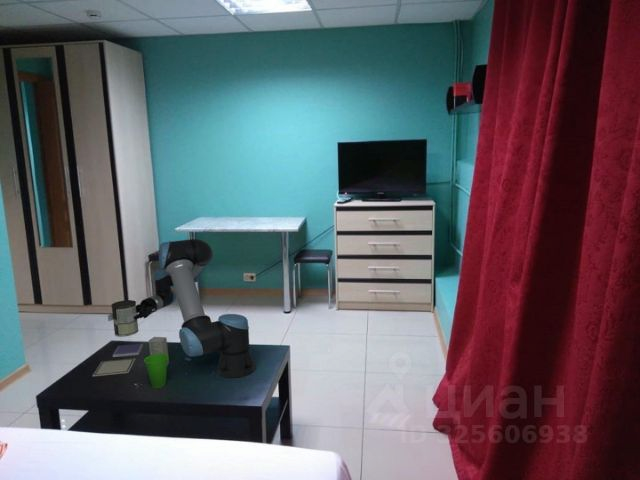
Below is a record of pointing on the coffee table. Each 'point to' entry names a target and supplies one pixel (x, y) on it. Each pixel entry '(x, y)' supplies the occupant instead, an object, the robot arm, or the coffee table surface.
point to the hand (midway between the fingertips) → (118, 319)
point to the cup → (157, 369)
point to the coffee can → (124, 318)
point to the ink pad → (128, 350)
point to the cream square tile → (114, 367)
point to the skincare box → (158, 346)
